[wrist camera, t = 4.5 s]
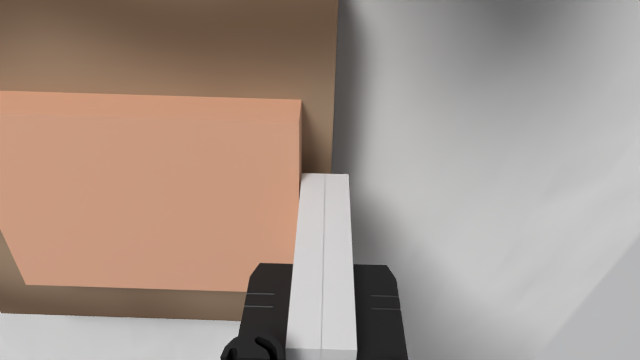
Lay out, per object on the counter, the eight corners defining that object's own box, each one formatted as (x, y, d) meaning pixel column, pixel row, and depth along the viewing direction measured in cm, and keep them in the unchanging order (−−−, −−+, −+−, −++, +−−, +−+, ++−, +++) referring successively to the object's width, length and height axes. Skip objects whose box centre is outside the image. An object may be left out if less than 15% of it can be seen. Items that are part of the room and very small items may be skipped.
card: (-23, 89, 15) (-55, 112, 14) (301, 100, 15) (299, 122, 14) (46, 256, 19) (25, 284, 18) (301, 264, 19) (299, 293, 18)
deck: (-113, -52, 15) (-184, -35, 13) (338, -38, 15) (339, -20, 13) (31, 271, 23) (1, 313, 21) (325, 280, 23) (324, 323, 21)
